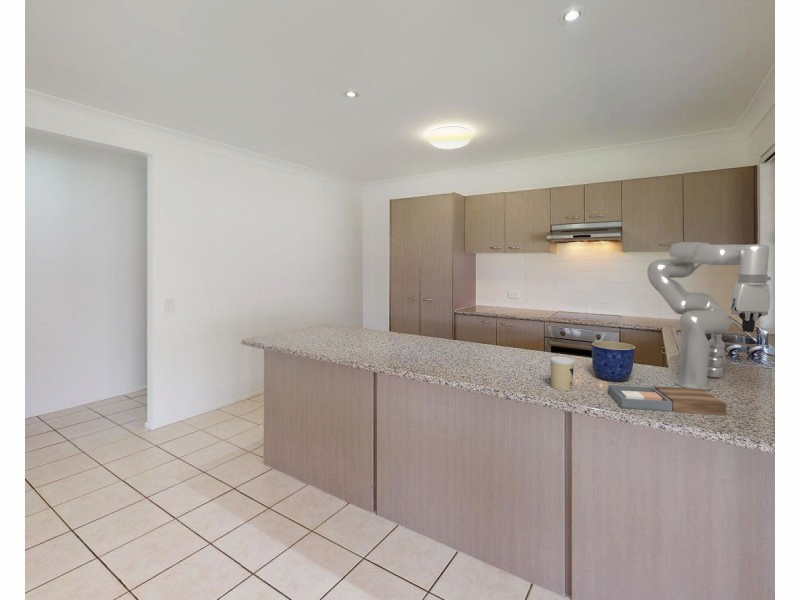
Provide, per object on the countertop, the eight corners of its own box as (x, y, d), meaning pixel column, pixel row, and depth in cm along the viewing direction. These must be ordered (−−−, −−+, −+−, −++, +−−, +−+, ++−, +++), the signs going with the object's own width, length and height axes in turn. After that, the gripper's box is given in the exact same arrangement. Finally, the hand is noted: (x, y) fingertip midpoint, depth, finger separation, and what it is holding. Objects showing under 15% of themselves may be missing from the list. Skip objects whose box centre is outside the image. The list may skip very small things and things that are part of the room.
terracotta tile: (637, 397, 152) (637, 391, 152) (655, 398, 151) (655, 392, 150) (643, 403, 146) (643, 396, 146) (661, 404, 145) (662, 397, 144)
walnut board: (653, 396, 155) (654, 386, 155) (700, 399, 152) (701, 388, 151) (672, 411, 139) (673, 400, 139) (725, 415, 136) (726, 403, 136)
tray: (608, 393, 158) (608, 385, 158) (653, 396, 155) (653, 387, 155) (621, 408, 143) (622, 398, 142) (671, 411, 140) (672, 401, 139)
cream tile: (638, 391, 151) (637, 398, 152) (620, 390, 153) (620, 396, 153) (644, 396, 145) (643, 403, 146) (625, 395, 147) (625, 402, 147)
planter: (640, 385, 168) (642, 349, 167) (597, 383, 171) (598, 348, 169) (624, 374, 185) (626, 341, 183) (585, 372, 188) (586, 340, 186)
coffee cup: (575, 391, 161) (577, 362, 160) (551, 390, 163) (552, 361, 161) (570, 384, 170) (571, 356, 169) (547, 383, 172) (548, 356, 170)
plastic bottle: (714, 374, 183) (717, 331, 181) (726, 379, 176) (730, 334, 174) (700, 375, 183) (703, 331, 181) (712, 379, 176) (715, 334, 174)
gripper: (769, 279, 143) (765, 330, 144) (721, 279, 146) (717, 329, 148) (785, 280, 135) (780, 334, 137) (734, 280, 138) (730, 332, 140)
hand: (747, 331), depth 142 cm, fingers closed
